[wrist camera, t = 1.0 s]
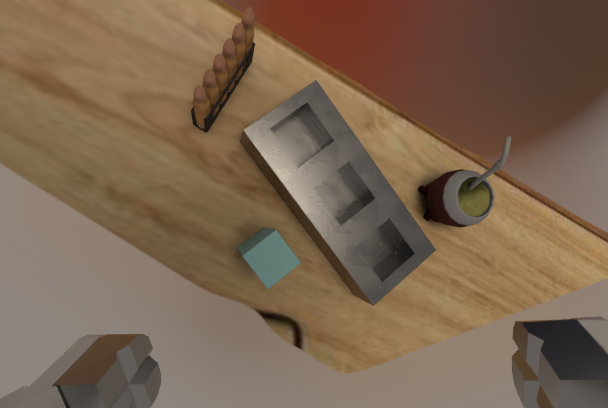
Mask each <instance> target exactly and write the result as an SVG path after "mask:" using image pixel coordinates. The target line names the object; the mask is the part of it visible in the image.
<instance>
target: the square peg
mask: <svg viewBox="0 0 608 408" xmlns="http://www.w3.org/2000/svg"><path fill="white" fill-rule="evenodd" d="M237 249H238V250H239V252H240V253H241V255H242V256H243V258H244V259H245V260H246V262H247V263H248V264H249V265H250V267H251V268H252V269H253V271H254V272H255V273H256V274H257V276H258V277H259V278H260V280H261V281H262V282H263V284H264V285H265V286H266V287H267V289H269V288H270V287H272V286H273V285H274V284H275V283H277V282H278V281H279V280H280V279H281V278H283V277H284V276H285V275H286V274H288V273H289V272H290V271H291V270H293V269H294V268H295V267H296V266H297V265H299V264H300V263H301V262H300V261H299V259H298V258H297V257H296V255H295V254H294V253H293V251H292V250H291V249H290V247H289V246H288V245H287V243H286V242H285V241H284V240H283V238H282V237H281V236H280V234H279V233H278V232H277V230H274V229H269V228H262V229H261V230H260V231H258V232H257V233H256V234H254V235H253V236H252V237H251V238H249V239H248V240H247V241H245V242H244V243H243V244H241V245H240V246H239V247H238V248H237Z"/></svg>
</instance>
